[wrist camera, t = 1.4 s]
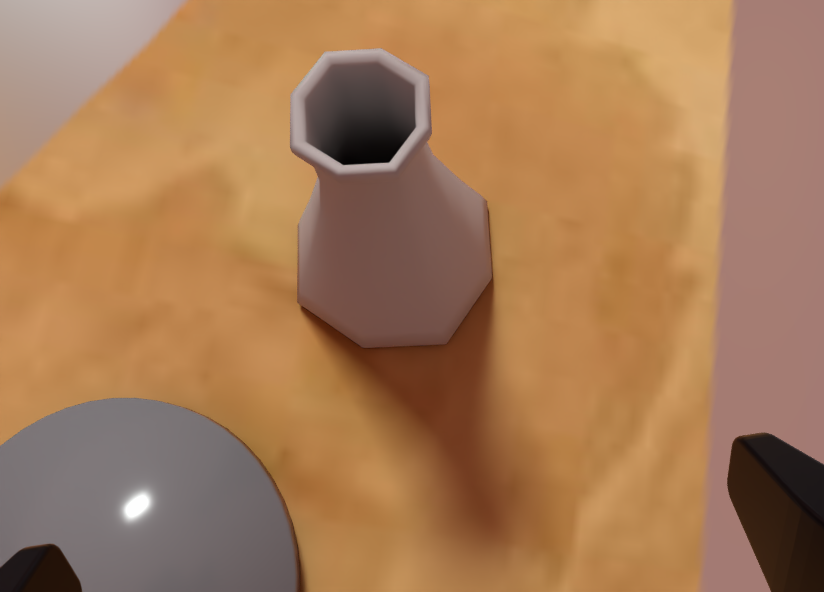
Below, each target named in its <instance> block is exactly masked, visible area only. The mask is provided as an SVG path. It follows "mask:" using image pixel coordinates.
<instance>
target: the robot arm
mask: <svg viewBox="0 0 824 592" xmlns="http://www.w3.org/2000/svg"><path fill="white" fill-rule="evenodd" d="M727 484H728V485H727V486H728V492H729V495H730V498H731V501H732V503H733V506H734V508H735V510H736V512H737V515H738V517H739V519H740V522H741V524H742V526H743V528H744V531H745V533H746V535H747V538H748V540H749V542H750V544H751V546H752V549H753V551H754V553H755V556H756V558H757V560H758V562H759V565H760V567H761V569H762V572H763V574H764V576H765V578H766V581H767V583H768V585H769V588H770V590H771V592H824V464H822V463H820V462H819V461H817V460H815V459H813V458H812V457H810V456H808V455H806V454H805V453H803V452H801V451H799V450H798V449H796V448H794V447H793V446H791V445H789V444H787V443H786V442H784V441H782V440H781V439H779V438H777V437H775V436H774V435H772V434H769V433H756V434H750V435H743V436H739V437H737V438H735V440H734V441H733V444H732V449H731V456H730V464H729V471H728V478H727ZM0 592H82V586H81V583H80V580H79V578H78V577H77V575H76V573H75V572H74V570H73V568H72V567H71V565H70V564H69V562H68V560H67V559H66V557H65V555H64V554H63V552H62V551H61V549H60V548H59V547H58V546H56V545H55V544H50V543H49V544H43V545H36V546H30V547H25V548H23V549H21V550H19V551H18V552H17V553H15V554H14V555H13V556H12V557H11V558H10V559H9V560H8V561H7V562H6V563H4V564H3V565H2V566H1V567H0Z"/></svg>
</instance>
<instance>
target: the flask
mask: <svg viewBox="0 0 824 592" xmlns="http://www.w3.org/2000/svg"><path fill="white" fill-rule="evenodd" d="M431 134H432V127H431V106H430V86H429V76H428V75H426V74H424V73H423V72H421V71H419V70H417V69H416V68H414V67H412V66H411V65H409V64H407V63H405V62H404V61H402V60H400V59H399V58H397V57H395V56H394V55H392V54H390V53H388V52H387V51H385V50H383V49H382V48H380V49H364V50H348V51H331V52H324V54H323V55H322V56H321V57H320V59H319V60H318V61H317V62H316V64H315V65H314V66H313V67H312V69H311V70H310V71H309V72H308V74H307V75H306V76H305V77H304V79H303V80H302V81H301V82H300V83H299V85H298V86H297V87H296V88H295V90H294V91H293V92H292V93H291V114H290V148H291V151H292V153H294V154H295V155H296V156H298V157H299V158H301V159H302V160H304V161H305V162H307V163H309V164H310V165H312V166H313V167H314V168H315V171H316V173H317V176H318V178H317V181H316V184H315V187H314V189H313V192H312V195H311V198H310V200H309V202H308V204H307V206H306V208H305V210H304V212H303V215H302V217H301V219H300V221H299V224H298V283H297V303H299V304H300V305H302V306H303V307H304V308H306V309H307V310H309V311H310V312H312V313H313V314H315V315H316V316H317V317H319V318H320V319H322V320H323V321H325V322H326V323H328V324H329V325H331V326H332V327H333V328H335V329H336V330H338V331H339V332H341V333H342V334H344V335H345V336H347V337H348V338H349V339H351V340H352V341H354V342H355V343H357V344H358V345H360V346H361V347H362V348H373V347H396V346H418V345H441V344H447V343H448V341H449V340H450V338H451V337H452V335H453V334H454V332H455V331H456V330H457V328H458V327H459V325H460V324H461V322H462V321H463V319H464V318H465V316H466V315H467V314H468V312H469V311H470V309H471V308H472V306H473V305H474V303H475V302H476V300H477V299H478V298H479V296H480V295H481V293H482V292H483V290H484V289H485V287H486V286H487V284H488V283H489V282H490V280H491V279H492V266H491V252H490V238H489V223H488V209H487V201H486V200H485V199H484V198H483V197H482V196H481V195H480V194H478V193H477V192H476V191H474V190H473V189H472V188H470V187H469V186H468V185H466V184H465V183H464V182H463V181H461V180H460V179H459V178H458V177H457V176H456V175H454V174H453V173H452V172H451V171H450V170H449V169H448V168H447V167H446V166H445V165H444V164H443V163H442V162H441V161H439V160H438V159H437V158H436V157H435V156H434V155H433V153H432V151H431V149H430V147H429V145H428V143H427V141H428V140H429V138H430V136H431Z"/></svg>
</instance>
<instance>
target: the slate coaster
mask: <svg viewBox="0 0 824 592" xmlns="http://www.w3.org/2000/svg"><path fill="white" fill-rule="evenodd" d="M49 543H50V544H55V545H56V546H58V547H59V548H60V549H61V551H62V552H63V554H64V555H65V557H66V559H67V560H68V562H69V564H70V565H71V567H72V568H73V570H74V572H75V573H76V575H77V577H78V578H79V580H80V583H81V586H82V592H300V567H299V555H298V546H297V542H296V537H295V533H294V528H293V523H292V521H291V518H290V515H289V512H288V509H287V506H286V504H285V501H284V499H283V497H282V495H281V493H280V491H279V489H278V487H277V485H276V483H275V481H274V479H273V478H272V476H271V475H270V473H269V472H268V470H267V469H266V468H265V466H264V465H263V463H262V462H261V460H260V459H259V458H258V457H257V456H256V455H255V454H254V453H253V452H252V450H251V449H250V448H249V447H248V446H247V445H246V444H245V443H244V442H243V441H242V440H240V439H239V438H238V437H237V436H236V435H234V434H233V433H232V432H231V431H229V430H228V429H227V428H225V427H224V426H222V425H220V424H219V423H217V422H215V421H214V420H212V419H210V418H209V417H206V416H204V415H202V414H199V413H197V412H195V411H192V410H190V409H187V408H184V407H180V406H176V405H173V404H169V403H165V402H160V401H155V400H147V399H139V398H111V399H104V400H97V401H90V402H86V403H82V404H79V405H75V406H72V407H68V408H65V409H63V410H60V411H58V412H56V413H53V414H51V415H48V416H46V417H44V418H42V419H40V420H38V421H37V422H35V423H33V424H31V425H30V426H28V427H26V428H24V429H23V430H21V431H20V432H19V433H17V434H16V435H14V436H13V437H12V438H10V439H9V440H8V441H6V442H5V443H4V444H2V445H1V446H0V567H1V566H2V565H3V564H4V563H6V562H7V561H8V560H9V559H10V558H11V557H12V556H13V555H14V554H15V553H17V552H18V551H19V550H21V549H23V548H25V547H30V546H36V545H43V544H49Z"/></svg>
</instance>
